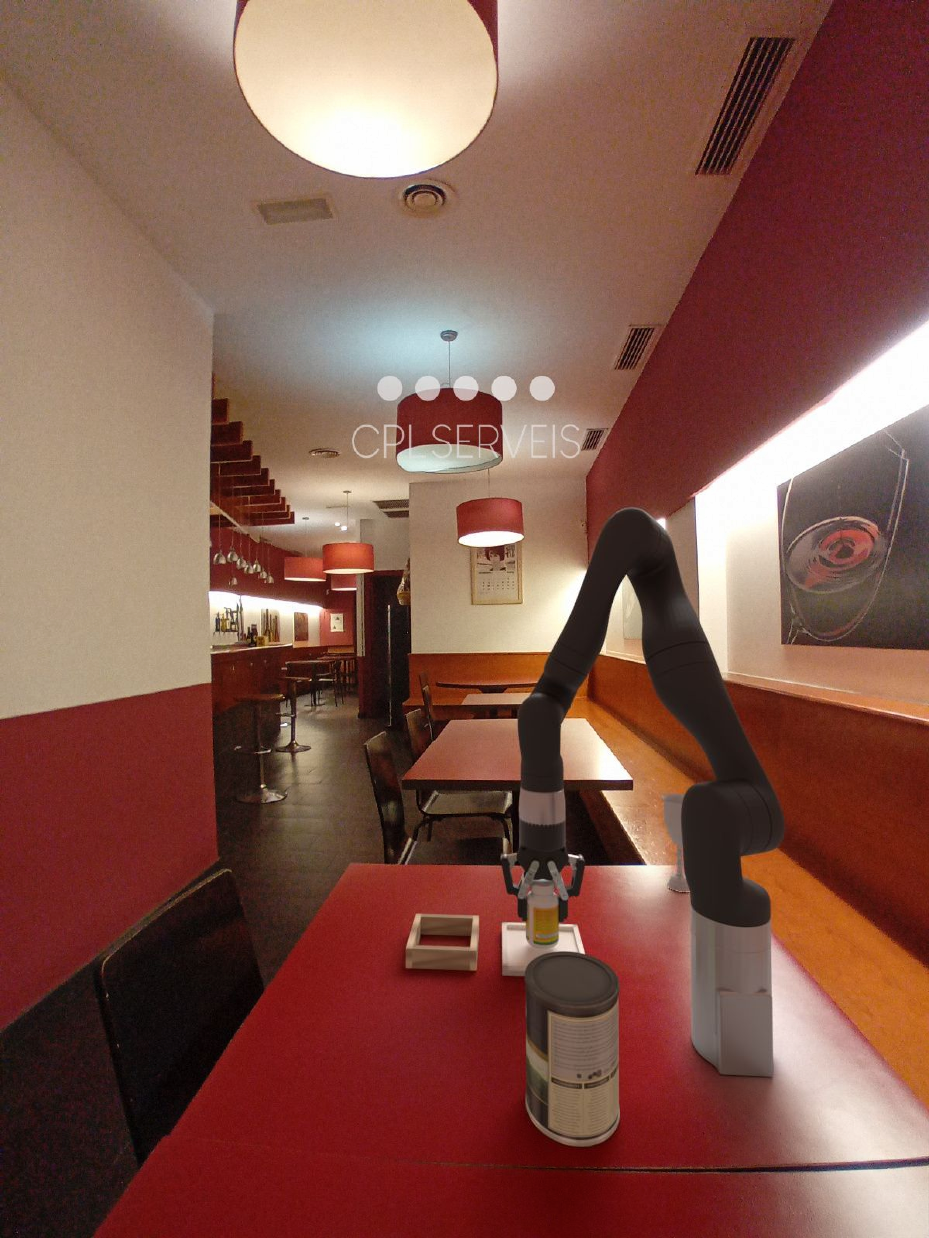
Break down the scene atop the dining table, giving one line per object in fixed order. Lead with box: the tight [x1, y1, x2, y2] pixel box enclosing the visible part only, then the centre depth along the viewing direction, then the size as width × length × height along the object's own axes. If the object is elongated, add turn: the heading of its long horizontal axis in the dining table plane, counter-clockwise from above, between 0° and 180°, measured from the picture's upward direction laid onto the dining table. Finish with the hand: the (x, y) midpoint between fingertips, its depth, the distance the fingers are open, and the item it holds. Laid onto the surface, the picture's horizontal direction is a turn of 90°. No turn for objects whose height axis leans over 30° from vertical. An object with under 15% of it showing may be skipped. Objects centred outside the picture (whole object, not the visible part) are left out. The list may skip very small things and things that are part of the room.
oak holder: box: [405, 913, 480, 972], centre depth 94 cm, size 11×11×3 cm
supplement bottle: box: [525, 879, 560, 949], centre depth 93 cm, size 5×5×10 cm
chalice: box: [661, 793, 689, 892], centre depth 117 cm, size 7×7×18 cm
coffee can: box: [524, 951, 621, 1148], centre depth 63 cm, size 10×10×14 cm
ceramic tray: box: [501, 921, 586, 977], centre depth 93 cm, size 13×13×2 cm
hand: (542, 919), depth 93 cm, fingers closed on supplement bottle, 5 cm apart
